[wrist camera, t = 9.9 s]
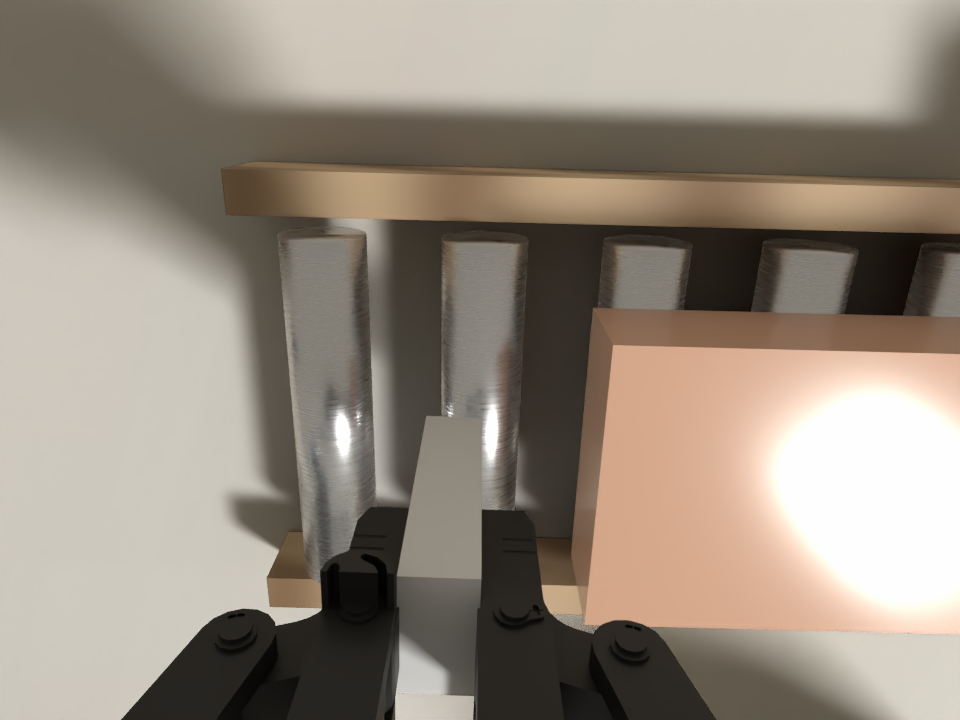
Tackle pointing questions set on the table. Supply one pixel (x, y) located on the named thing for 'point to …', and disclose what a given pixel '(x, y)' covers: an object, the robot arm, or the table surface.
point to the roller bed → (497, 343)
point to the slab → (770, 472)
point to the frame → (572, 203)
